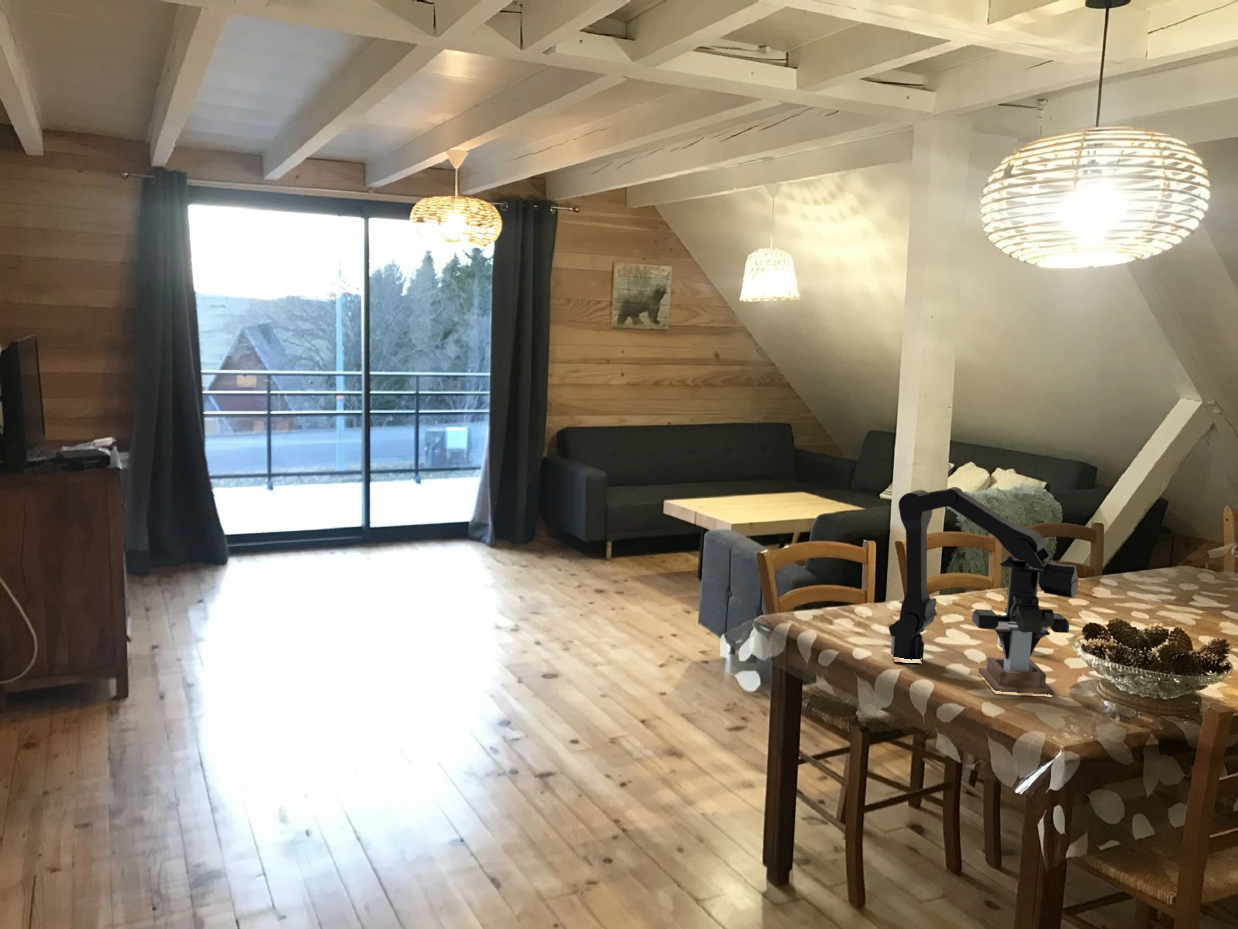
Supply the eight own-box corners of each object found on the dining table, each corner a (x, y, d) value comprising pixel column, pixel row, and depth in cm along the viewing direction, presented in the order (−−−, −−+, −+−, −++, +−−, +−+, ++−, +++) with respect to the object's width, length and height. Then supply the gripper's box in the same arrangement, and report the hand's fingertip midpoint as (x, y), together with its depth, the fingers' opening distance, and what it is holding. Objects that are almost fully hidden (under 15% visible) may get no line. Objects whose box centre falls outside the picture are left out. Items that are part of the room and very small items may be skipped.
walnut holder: (994, 694, 205) (996, 674, 205) (978, 674, 217) (979, 655, 216) (1052, 697, 204) (1054, 677, 204) (1033, 677, 216) (1035, 657, 216)
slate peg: (1009, 675, 208) (1013, 630, 207) (1003, 669, 212) (1007, 624, 211) (1028, 676, 208) (1032, 631, 207) (1022, 670, 212) (1026, 625, 211)
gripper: (989, 597, 200) (983, 670, 203) (1082, 601, 199) (1075, 674, 201) (974, 583, 211) (968, 652, 214) (1062, 587, 210) (1055, 656, 212)
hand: (1016, 659), depth 210 cm, fingers closed on slate peg, 4 cm apart
